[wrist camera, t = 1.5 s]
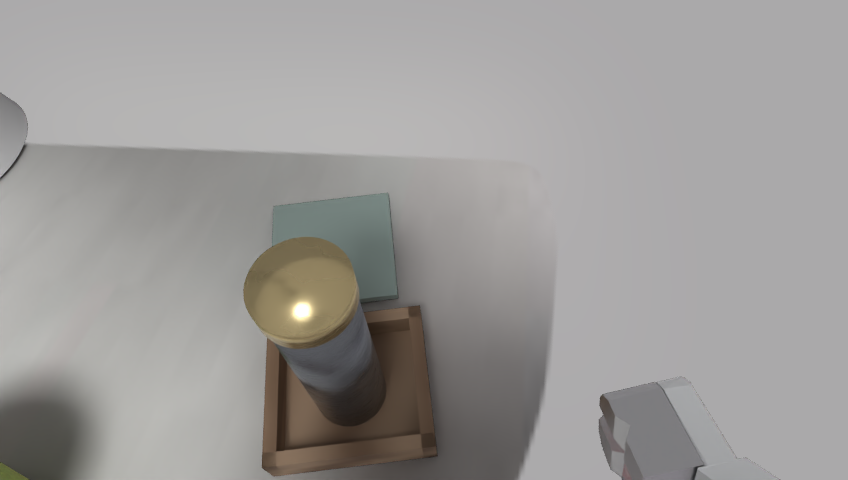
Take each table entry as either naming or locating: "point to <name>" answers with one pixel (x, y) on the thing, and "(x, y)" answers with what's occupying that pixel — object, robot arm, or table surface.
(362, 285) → the mat
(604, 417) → the robot arm
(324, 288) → the pepper mill
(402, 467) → the table surface
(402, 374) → the tray
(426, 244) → the table surface
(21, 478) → the plant pot
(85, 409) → the table surface
